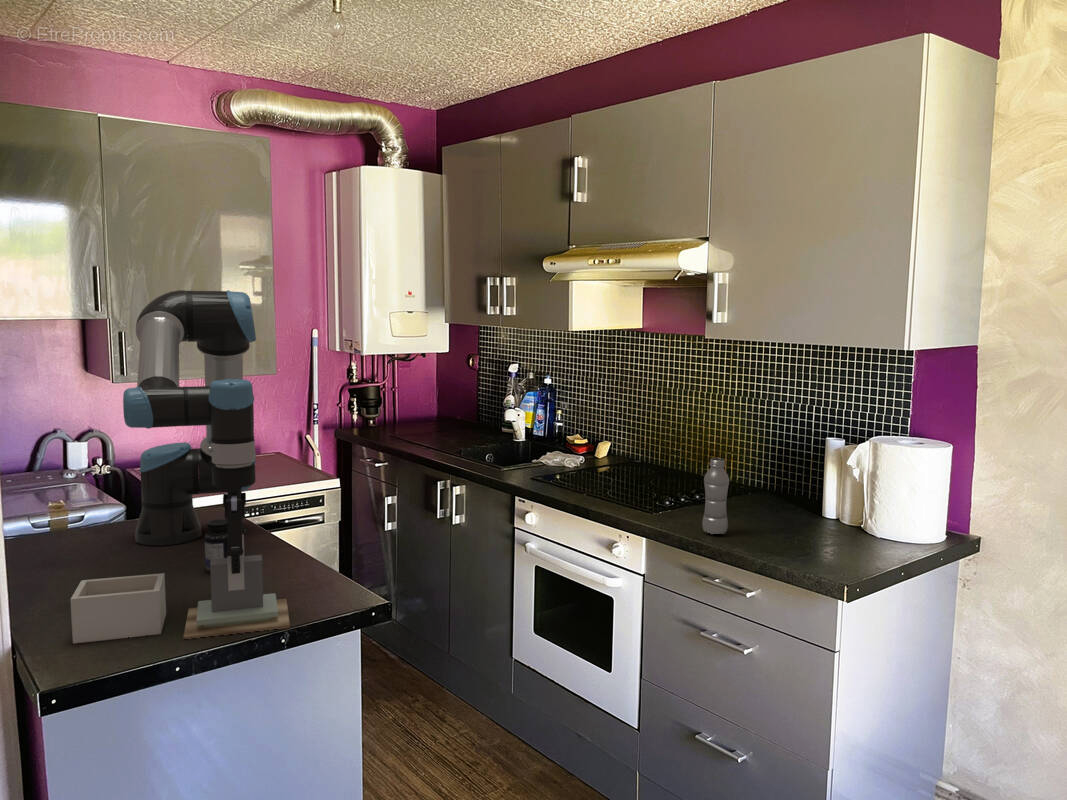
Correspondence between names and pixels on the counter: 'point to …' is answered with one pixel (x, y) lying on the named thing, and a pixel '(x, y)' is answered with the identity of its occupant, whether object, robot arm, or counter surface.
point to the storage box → (118, 608)
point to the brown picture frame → (201, 631)
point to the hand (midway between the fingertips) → (236, 578)
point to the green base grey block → (236, 596)
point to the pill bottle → (215, 541)
